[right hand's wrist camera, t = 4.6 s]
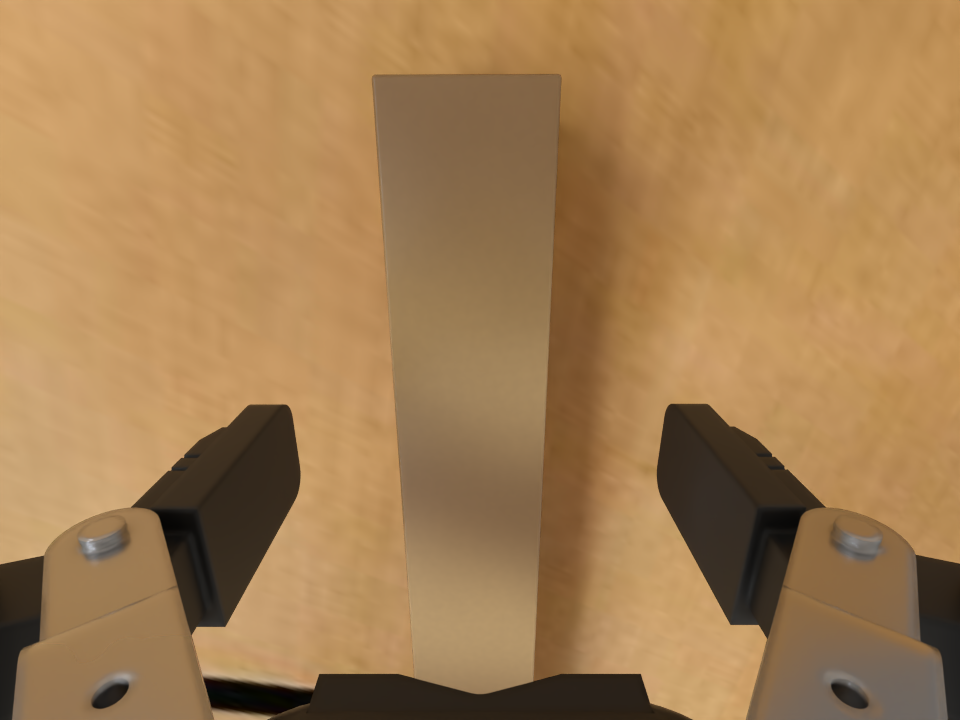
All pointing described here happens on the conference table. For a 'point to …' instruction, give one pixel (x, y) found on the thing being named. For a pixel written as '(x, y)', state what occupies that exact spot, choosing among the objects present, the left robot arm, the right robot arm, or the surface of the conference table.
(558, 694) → the right robot arm
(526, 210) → the beam
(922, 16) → the conference table surface
